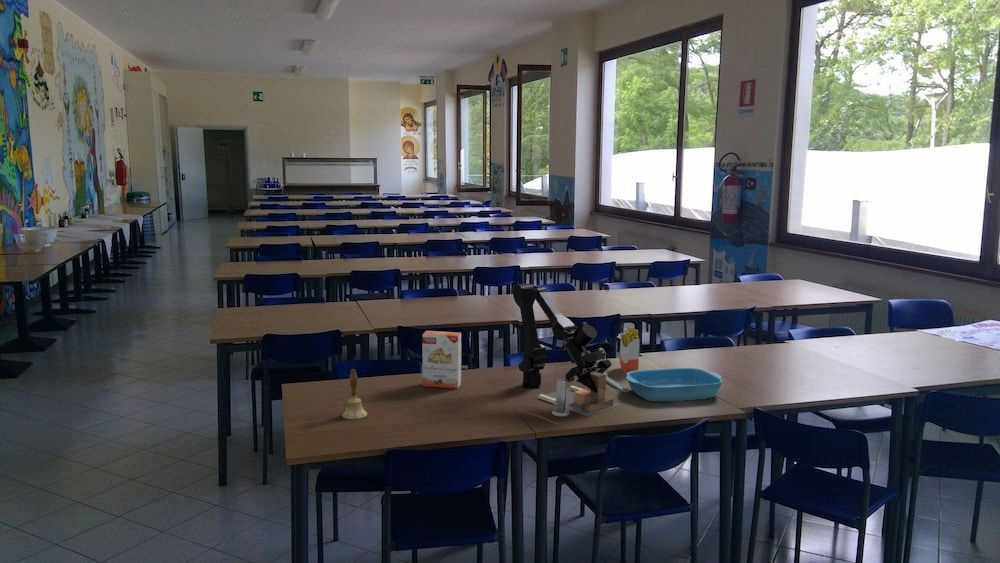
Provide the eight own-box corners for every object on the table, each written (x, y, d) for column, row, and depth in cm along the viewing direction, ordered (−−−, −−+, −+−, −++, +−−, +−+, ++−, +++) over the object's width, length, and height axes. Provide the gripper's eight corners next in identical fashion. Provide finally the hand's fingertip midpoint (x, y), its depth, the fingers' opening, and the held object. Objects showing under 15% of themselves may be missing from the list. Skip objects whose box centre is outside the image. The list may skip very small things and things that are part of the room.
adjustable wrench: (630, 393, 272) (630, 389, 271) (614, 395, 270) (614, 390, 270) (603, 374, 295) (603, 370, 295) (588, 375, 294) (589, 371, 293)
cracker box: (422, 387, 276) (421, 333, 273) (426, 382, 282) (425, 329, 278) (457, 389, 274) (457, 335, 270) (461, 384, 279) (461, 331, 276)
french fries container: (627, 375, 294) (629, 331, 291) (618, 367, 304) (620, 325, 301) (638, 374, 294) (640, 331, 291) (628, 367, 305) (630, 325, 302)
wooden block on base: (581, 409, 251) (582, 376, 249) (604, 402, 259) (605, 370, 257) (589, 412, 248) (590, 379, 246) (613, 405, 256) (614, 372, 254)
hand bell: (338, 418, 242) (337, 372, 239) (347, 410, 250) (346, 365, 247) (362, 420, 241) (361, 373, 238) (370, 411, 249) (369, 366, 246)
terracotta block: (573, 402, 258) (574, 391, 258) (583, 399, 262) (583, 389, 261) (584, 406, 255) (584, 395, 254) (593, 403, 258) (594, 392, 257)
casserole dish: (701, 382, 286) (702, 364, 285) (733, 400, 265) (734, 381, 263) (615, 388, 277) (615, 370, 275) (640, 408, 255) (641, 388, 254)
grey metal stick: (551, 417, 245) (552, 382, 243) (552, 411, 251) (552, 377, 249) (569, 417, 244) (570, 383, 242) (569, 411, 250) (570, 378, 248)
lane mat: (535, 398, 264) (535, 394, 264) (570, 388, 276) (570, 384, 275) (585, 416, 245) (586, 412, 245) (620, 405, 257) (621, 401, 256)
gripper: (572, 345, 246) (595, 384, 240) (608, 337, 258) (631, 374, 252) (555, 362, 254) (577, 401, 247) (591, 353, 266) (613, 390, 259)
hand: (600, 391), depth 251 cm, fingers closed on wooden block on base, 4 cm apart
